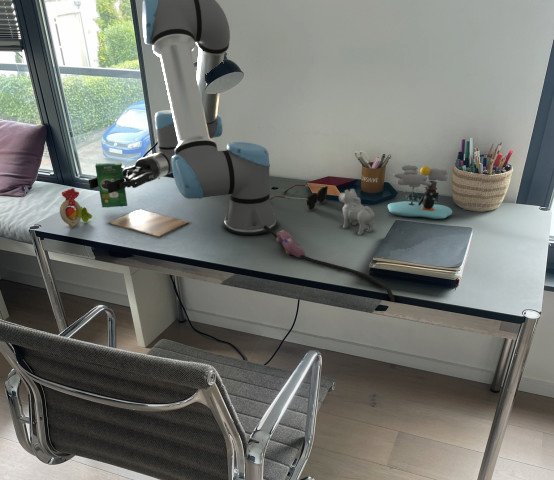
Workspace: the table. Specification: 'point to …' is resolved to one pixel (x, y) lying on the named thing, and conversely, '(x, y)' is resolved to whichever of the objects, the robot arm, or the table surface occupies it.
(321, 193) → the sunglasses
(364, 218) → the dog figurine
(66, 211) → the bird rattle
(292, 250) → the pink animal figurine
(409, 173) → the penguin figurine
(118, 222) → the wooden board
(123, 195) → the coffee box
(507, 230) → the table surface
